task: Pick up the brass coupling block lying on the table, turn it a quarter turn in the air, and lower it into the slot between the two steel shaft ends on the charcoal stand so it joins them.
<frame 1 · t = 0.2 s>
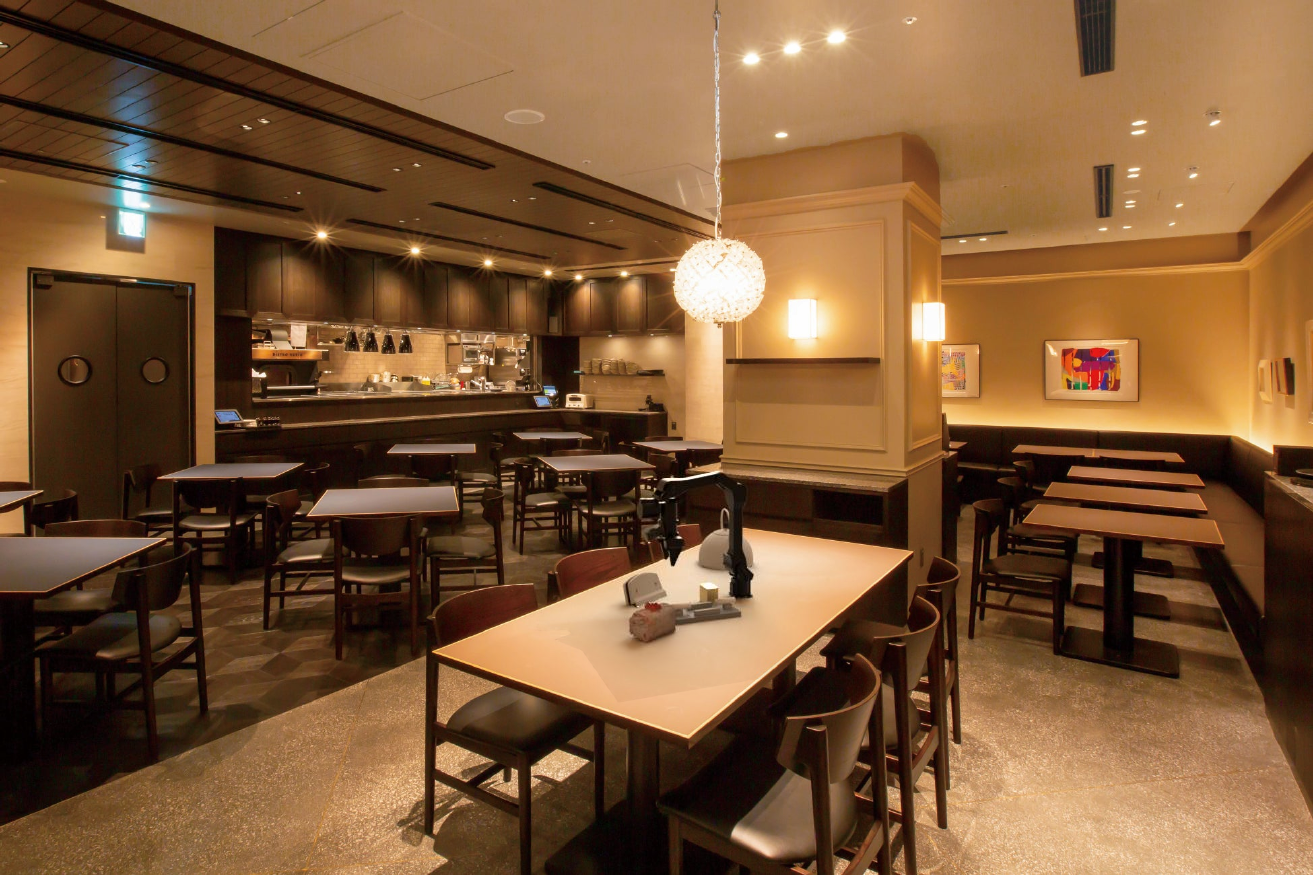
hand: (669, 562, 235), 14 cm above the table, tool pointing down, fingers open, 9 cm apart
kettle: (725, 562, 292), on the table
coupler: (708, 603, 237), on the table
shaft stand: (703, 615, 224), on the table
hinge: (644, 600, 241), on the table
food item: (652, 636, 206), on the table
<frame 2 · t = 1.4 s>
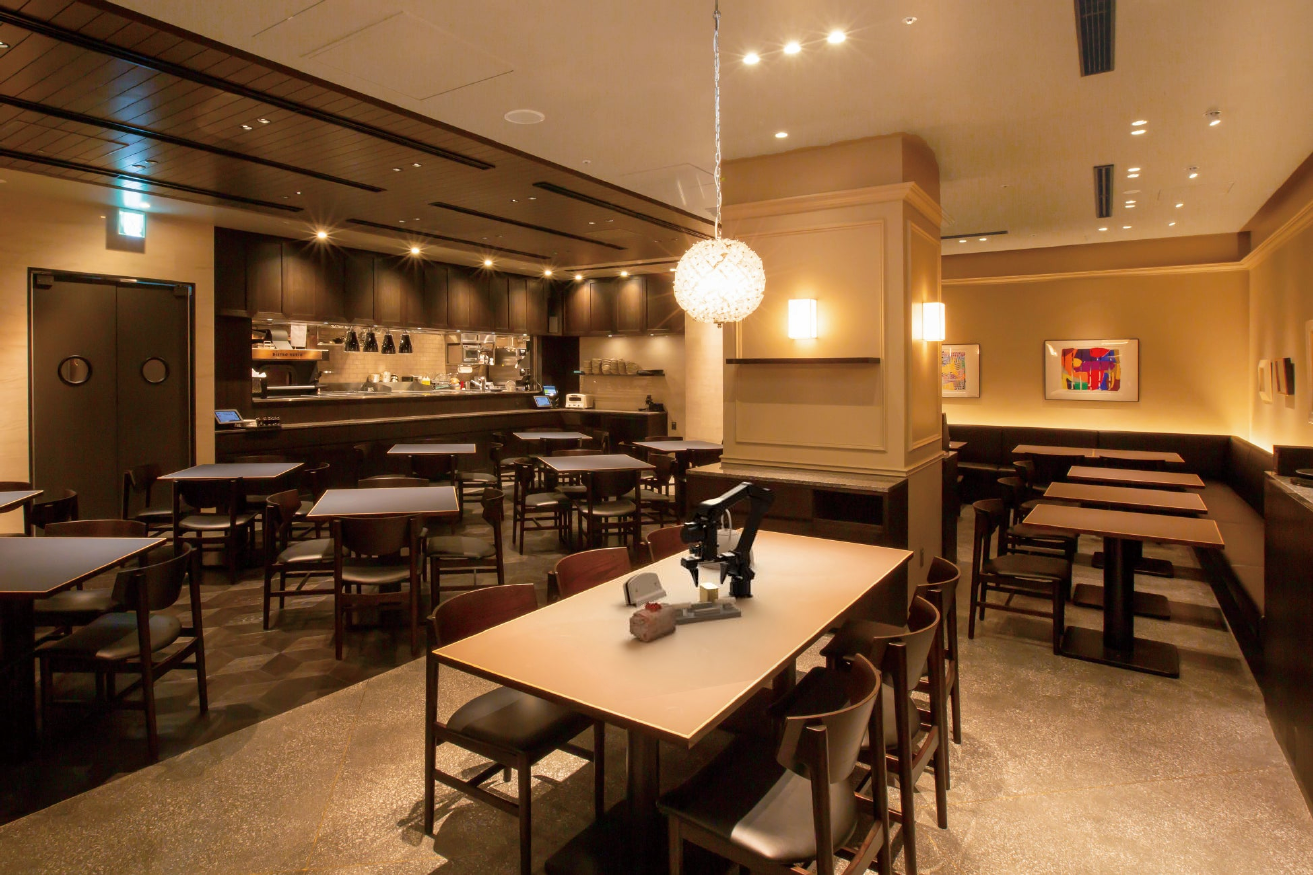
hand: (709, 585, 236), 6 cm above the table, tool pointing down, fingers open, 9 cm apart
nothing on the table moved.
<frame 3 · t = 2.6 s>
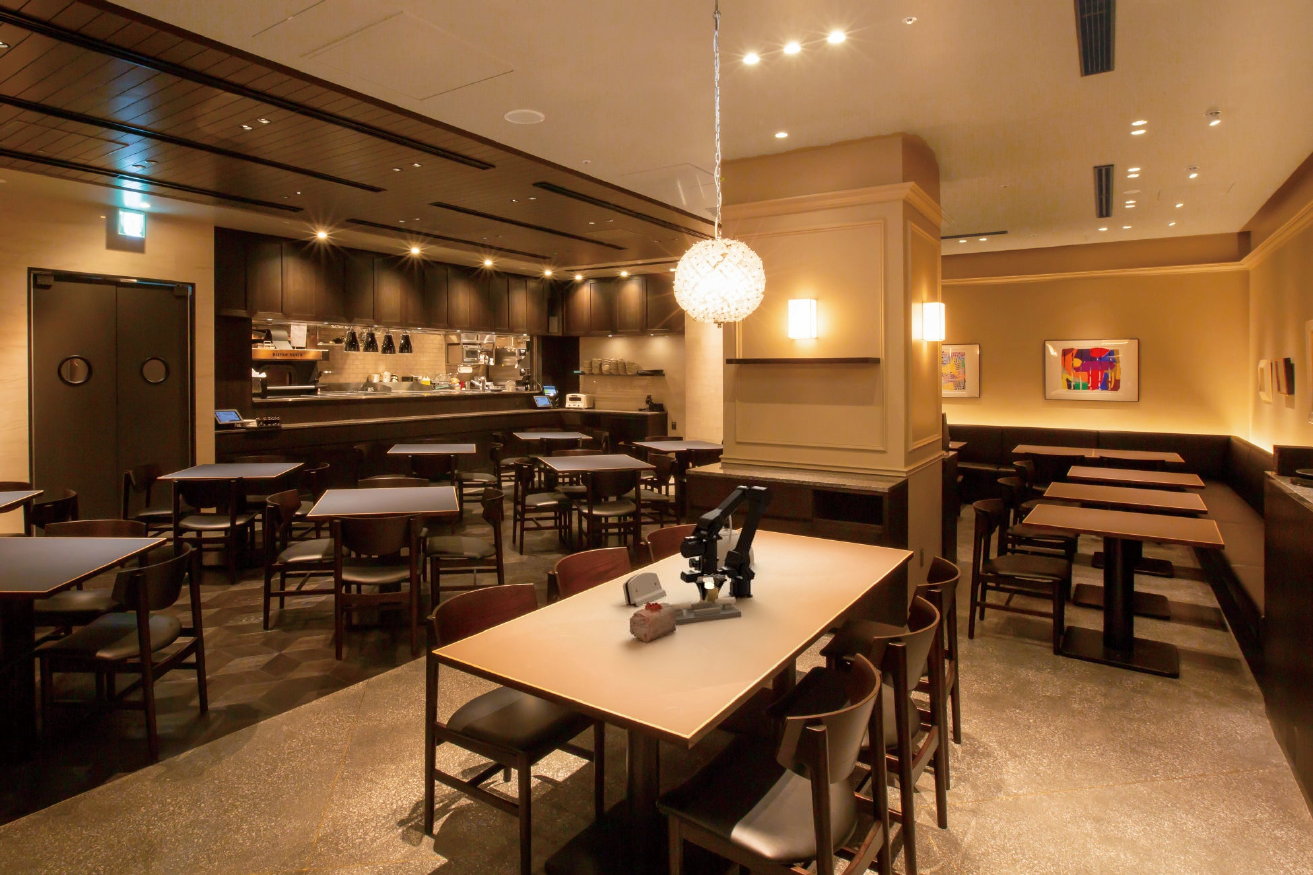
hand: (708, 599, 237), 1 cm above the table, tool pointing down, fingers closed on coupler, 4 cm apart
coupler: (708, 603, 237), on the table, touching gripper
everything else where it was.
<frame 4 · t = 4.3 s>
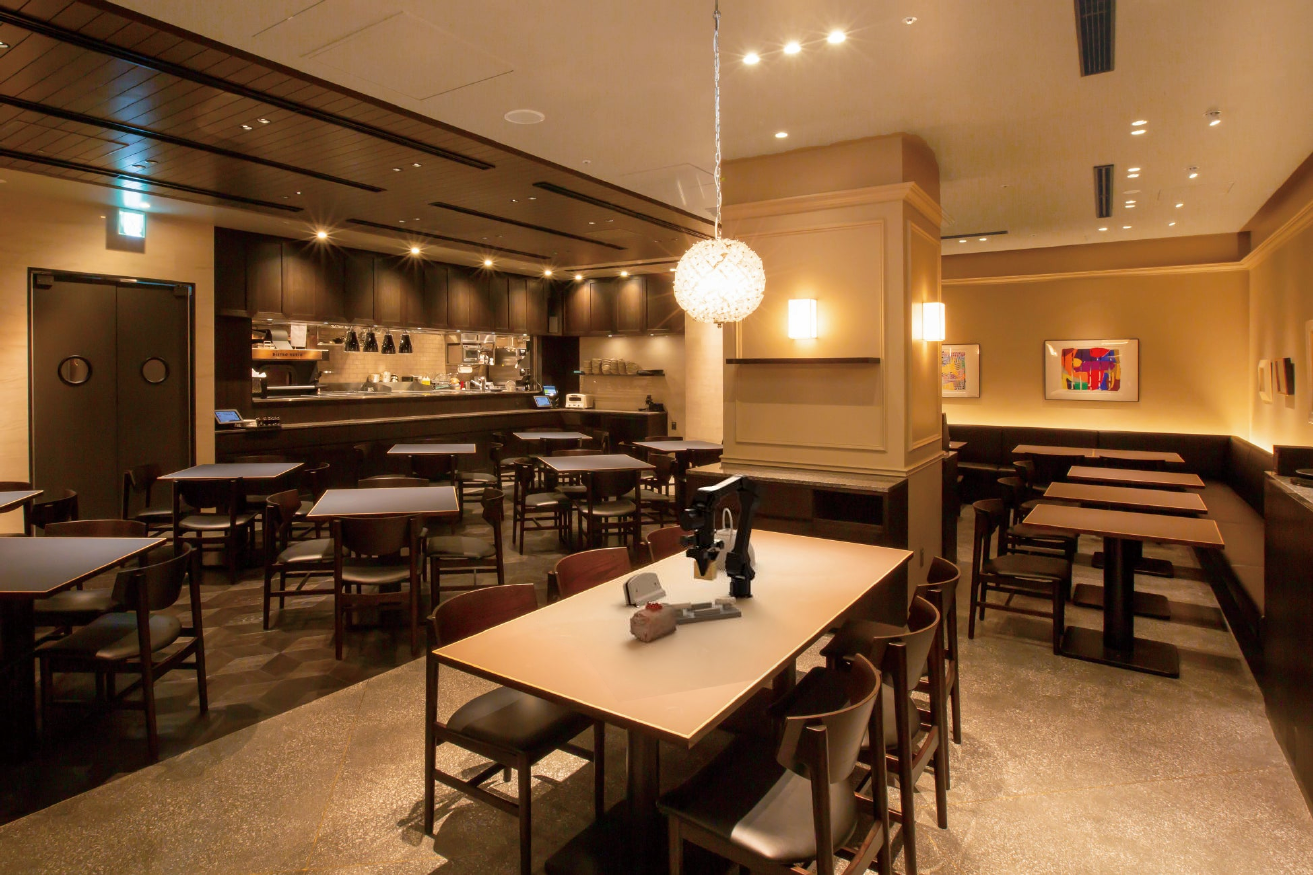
hand: (705, 574, 230), 11 cm above the table, tool pointing down, fingers closed on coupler, 4 cm apart
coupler: (705, 578, 230), point 10 cm above the table, touching gripper
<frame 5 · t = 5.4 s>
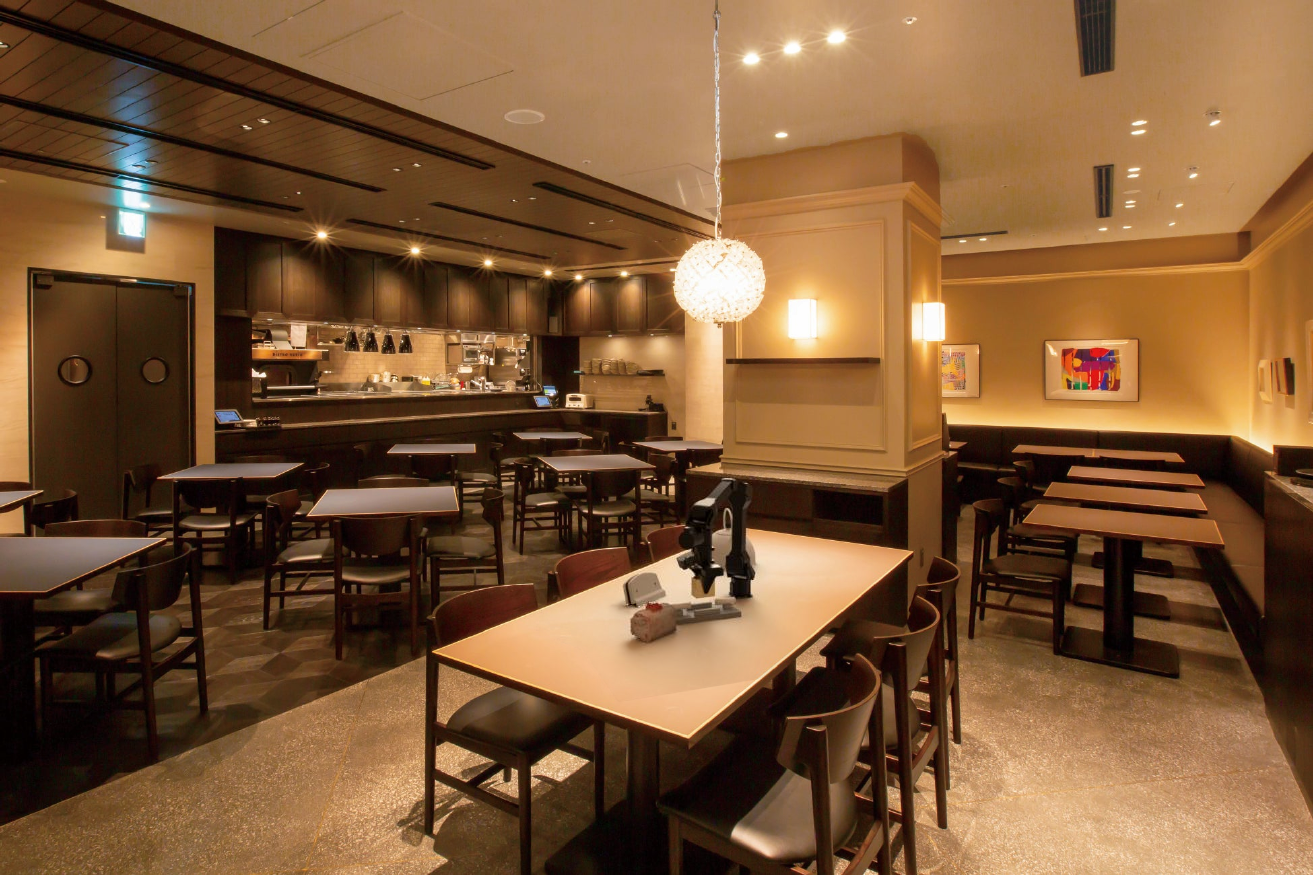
hand: (703, 591, 223), 8 cm above the table, tool pointing down, fingers closed on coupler, 4 cm apart
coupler: (703, 595, 224), point 6 cm above the table, touching gripper
when the fingers open (5 cm above the table, at t = 6.2 s): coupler drops 2 cm, resting on shaft stand.
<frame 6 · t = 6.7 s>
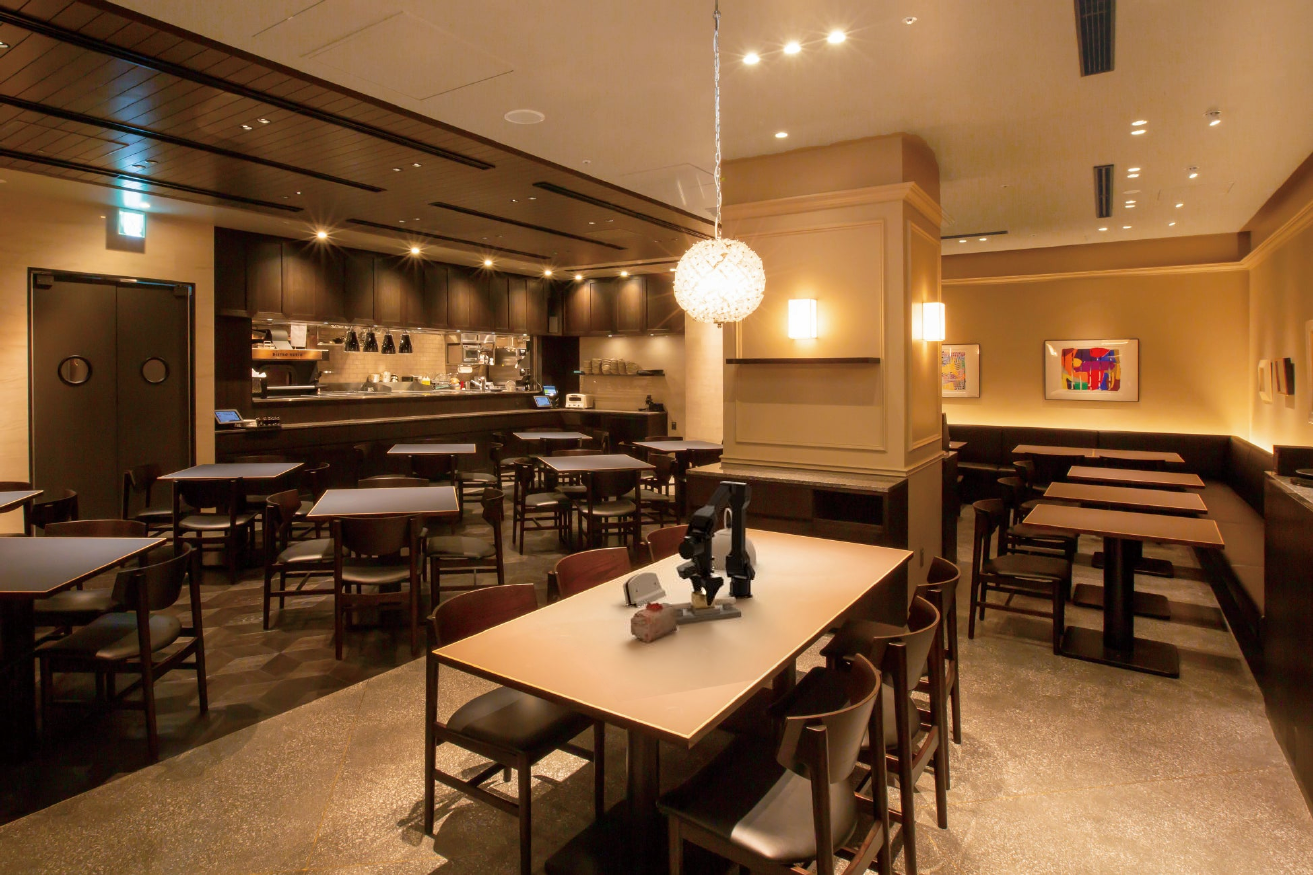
hand: (703, 601, 224), 5 cm above the table, tool pointing down, fingers open, 9 cm apart
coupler: (703, 610, 224), point 1 cm above the table, touching shaft stand
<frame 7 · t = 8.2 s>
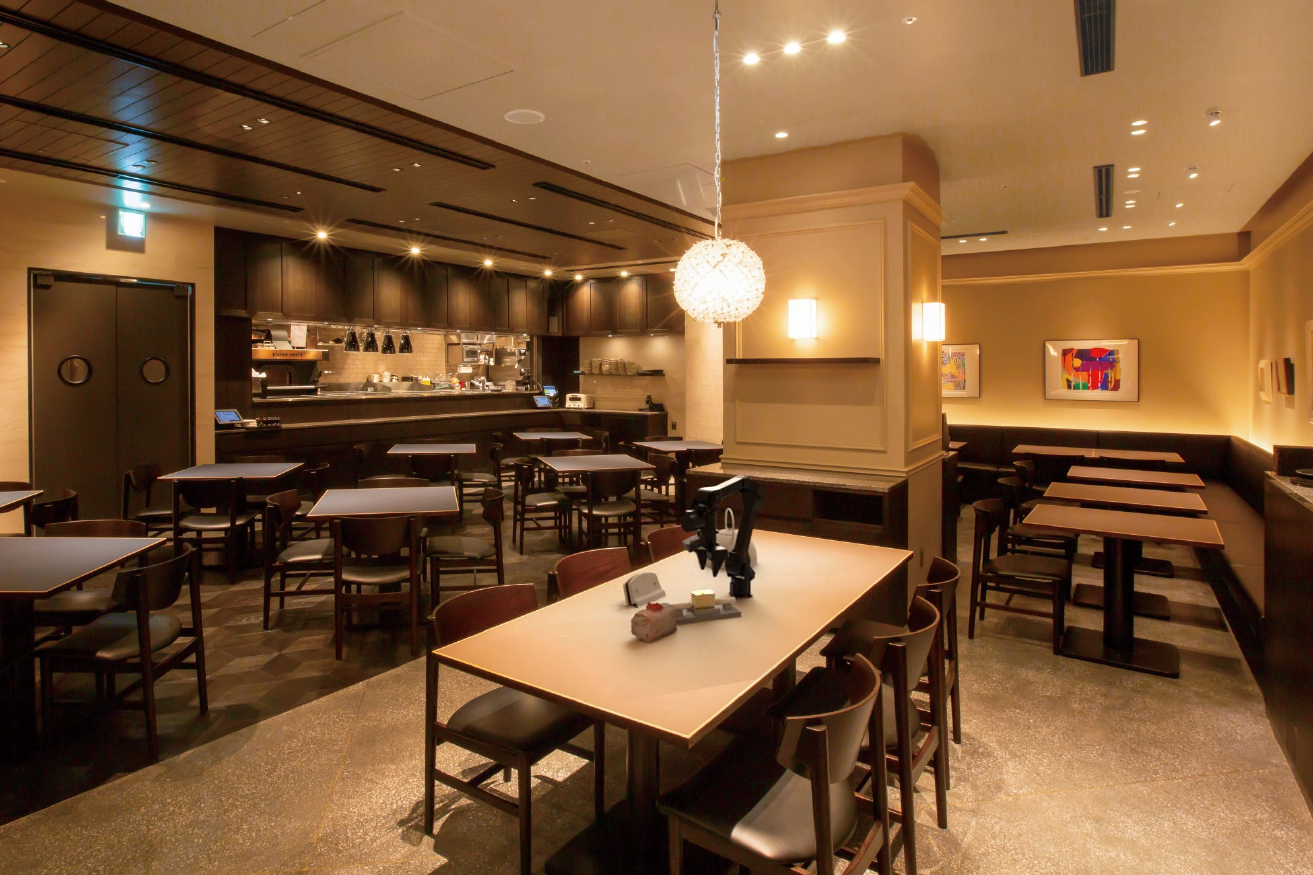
hand: (708, 573, 232), 11 cm above the table, tool pointing down, fingers open, 9 cm apart
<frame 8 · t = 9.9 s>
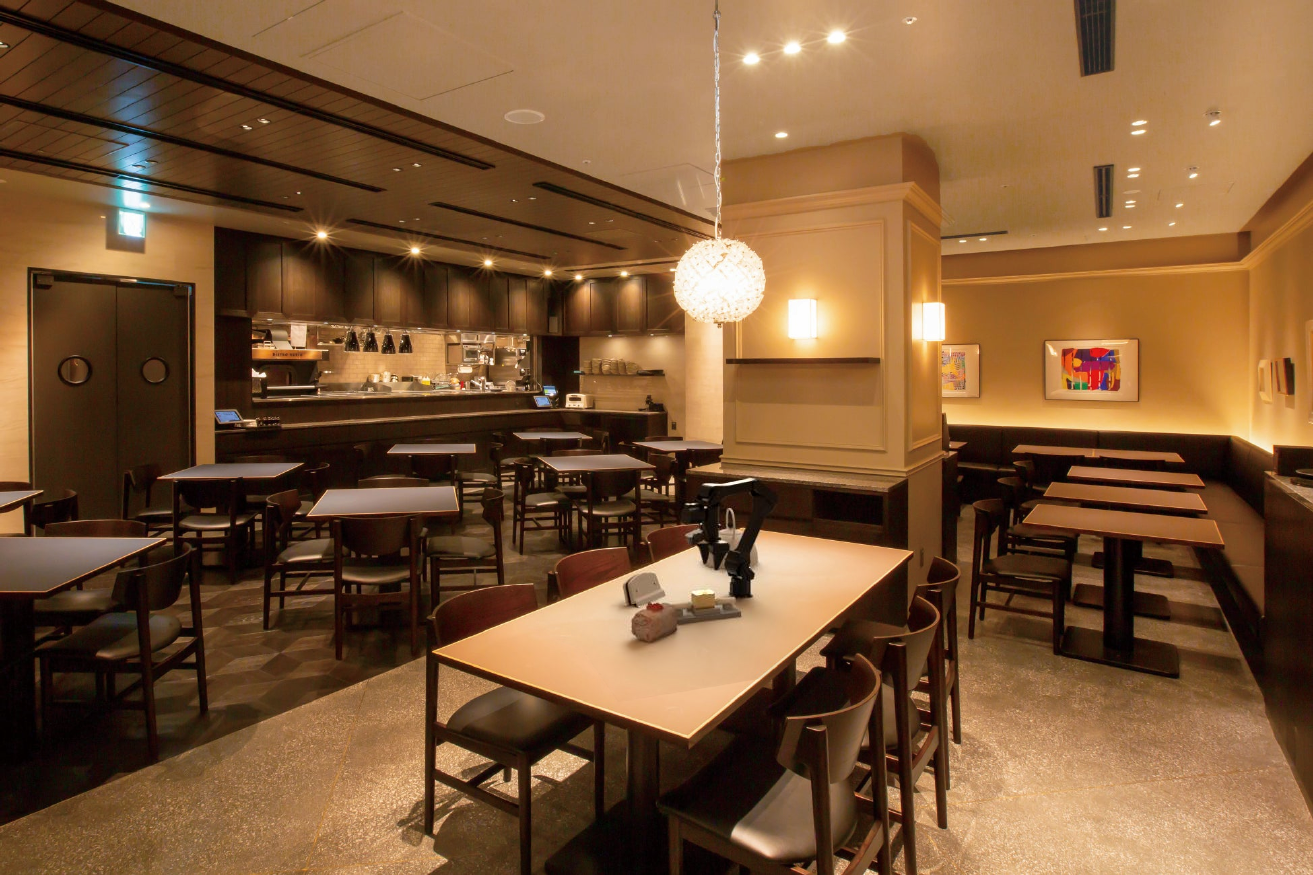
hand: (710, 567, 237), 12 cm above the table, tool pointing down, fingers open, 9 cm apart
at the end: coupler 0.1 cm off-centre on the shaft stand, point 1.5 cm above the shaft stand's base; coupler tilted 0°; the gripper is holding nothing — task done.
